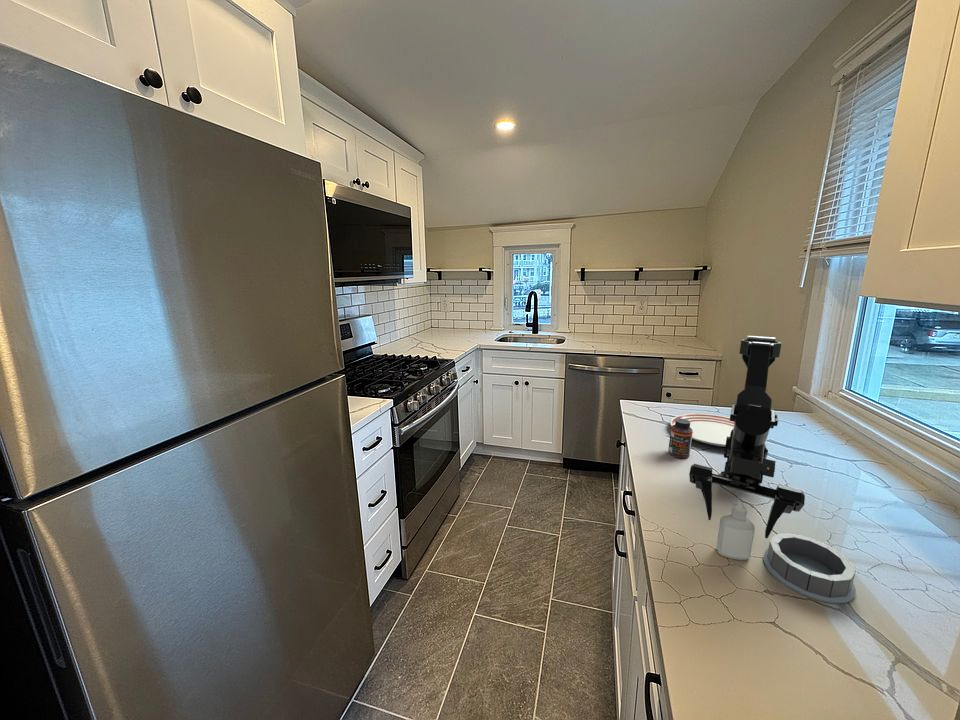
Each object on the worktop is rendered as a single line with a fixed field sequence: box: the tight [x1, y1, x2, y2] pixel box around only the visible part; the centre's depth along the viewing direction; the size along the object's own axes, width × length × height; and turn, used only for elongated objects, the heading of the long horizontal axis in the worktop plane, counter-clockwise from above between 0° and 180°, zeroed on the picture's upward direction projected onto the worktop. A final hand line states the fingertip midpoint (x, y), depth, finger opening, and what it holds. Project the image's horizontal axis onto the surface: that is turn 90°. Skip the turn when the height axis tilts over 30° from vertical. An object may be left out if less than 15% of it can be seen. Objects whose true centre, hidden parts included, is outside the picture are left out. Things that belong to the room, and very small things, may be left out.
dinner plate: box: [669, 413, 734, 448], centre depth 128 cm, size 27×27×3 cm
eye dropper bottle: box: [715, 500, 756, 561], centre depth 73 cm, size 4×6×12 cm
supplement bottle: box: [667, 418, 693, 459], centre depth 114 cm, size 6×6×11 cm
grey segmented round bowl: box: [763, 533, 857, 605], centre depth 69 cm, size 13×13×4 cm
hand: (736, 528), depth 72 cm, fingers open, 9 cm apart
